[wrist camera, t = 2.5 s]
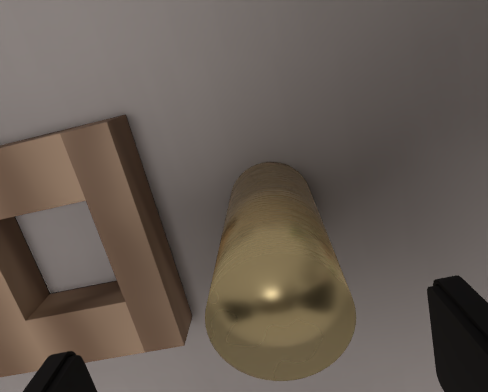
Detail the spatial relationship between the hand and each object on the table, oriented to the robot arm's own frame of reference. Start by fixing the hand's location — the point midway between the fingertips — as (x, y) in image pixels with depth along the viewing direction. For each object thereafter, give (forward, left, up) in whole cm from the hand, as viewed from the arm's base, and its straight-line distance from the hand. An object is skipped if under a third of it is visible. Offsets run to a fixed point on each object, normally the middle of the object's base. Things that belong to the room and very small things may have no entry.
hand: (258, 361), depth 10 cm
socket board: (+14, 0, -11) cm, 18 cm away
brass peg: (-1, 0, -11) cm, 11 cm away
